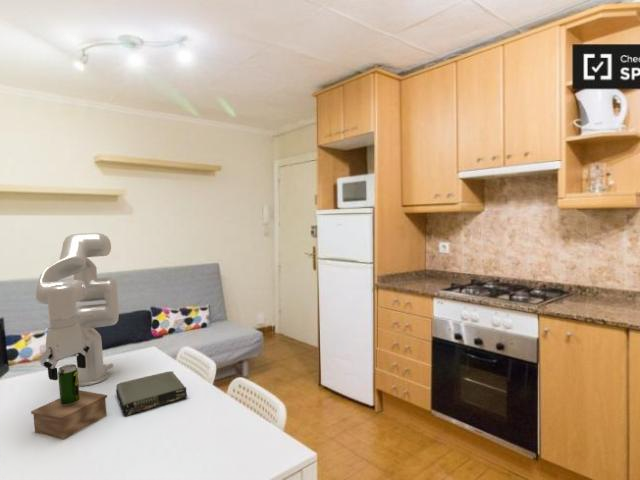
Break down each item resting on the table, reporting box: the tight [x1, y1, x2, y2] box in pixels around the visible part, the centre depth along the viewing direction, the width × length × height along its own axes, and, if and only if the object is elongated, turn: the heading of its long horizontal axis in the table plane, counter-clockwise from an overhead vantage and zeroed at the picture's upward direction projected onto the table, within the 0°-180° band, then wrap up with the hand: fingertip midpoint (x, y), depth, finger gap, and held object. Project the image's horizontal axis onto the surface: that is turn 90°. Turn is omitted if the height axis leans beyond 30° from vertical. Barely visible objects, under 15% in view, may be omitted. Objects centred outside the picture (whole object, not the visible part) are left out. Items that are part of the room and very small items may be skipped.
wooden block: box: [30, 389, 108, 440], centre depth 131 cm, size 16×14×7 cm
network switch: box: [115, 370, 187, 417], centre depth 148 cm, size 23×24×5 cm
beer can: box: [57, 363, 80, 406], centre depth 130 cm, size 5×5×12 cm
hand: (68, 373), depth 130 cm, fingers open, 9 cm apart
